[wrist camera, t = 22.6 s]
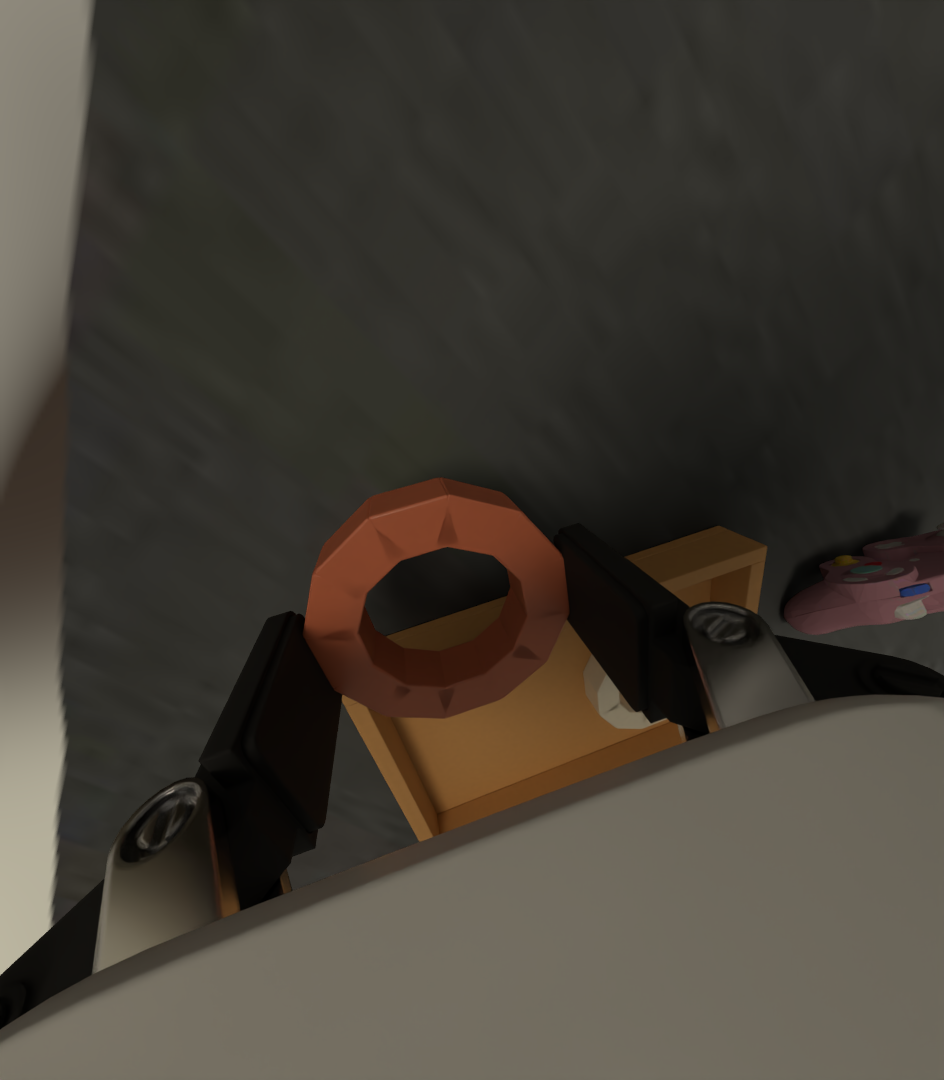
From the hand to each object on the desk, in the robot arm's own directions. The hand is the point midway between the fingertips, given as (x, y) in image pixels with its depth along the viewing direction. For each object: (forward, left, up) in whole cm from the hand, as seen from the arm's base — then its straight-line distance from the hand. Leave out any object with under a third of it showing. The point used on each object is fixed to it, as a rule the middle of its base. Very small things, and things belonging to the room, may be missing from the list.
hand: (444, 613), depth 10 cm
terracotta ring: (0, 0, -1) cm, 1 cm away
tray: (+12, +5, -6) cm, 14 cm away
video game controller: (+11, +25, -7) cm, 28 cm away
